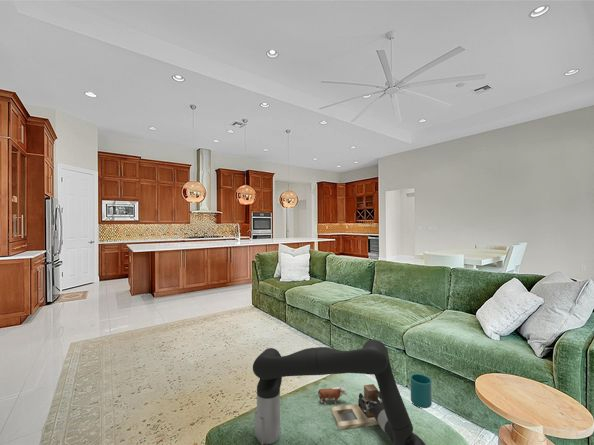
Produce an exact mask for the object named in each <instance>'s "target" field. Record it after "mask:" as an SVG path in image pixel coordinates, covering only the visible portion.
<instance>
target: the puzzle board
mask: <svg viewBox="0 0 594 445" xmlns="http://www.w3.org/2000/svg"><path fill="white" fill-rule="evenodd" d="M330 412H331V414H332V417H333V419H334V421H335V423H336V426H337V428H338V430H339V431H342V430H343V431H344V430H350V429H357V428H358V429H359V428H367V427H373V426H380V425H379V424H378V422H377V421H376V419H375V418H374V417H372V418H367V416H366V415H365V414H364V413H363V412H362V410H361V409H360V407H359V406H358V403H357V404H356V403H355V404H346V405H340V406H339V405H338V406H332V407H330Z"/></svg>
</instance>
